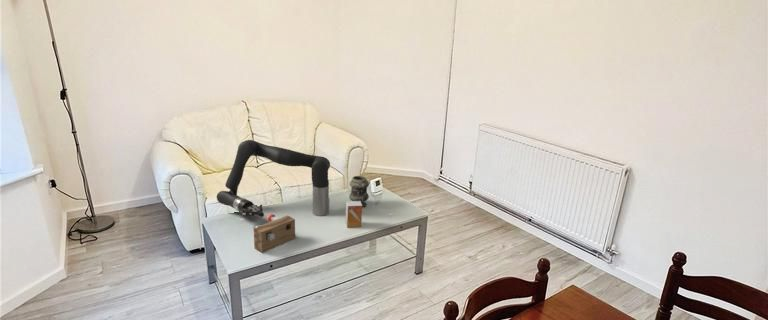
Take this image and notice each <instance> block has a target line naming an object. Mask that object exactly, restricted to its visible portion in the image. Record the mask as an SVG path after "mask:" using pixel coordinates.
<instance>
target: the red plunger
mask: <svg viewBox="0 0 768 320" xmlns="http://www.w3.org/2000/svg"><path fill="white" fill-rule="evenodd" d="M277 219H279V217H277V216H276V215H275V214H273V213H269V214H268V215H267V216H266V221H267V223H269V222H271V221H274V220H277ZM286 227H287V225H286Z"/></svg>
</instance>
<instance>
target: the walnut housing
mask: <svg viewBox="0 0 768 320" xmlns="http://www.w3.org/2000/svg"><path fill="white" fill-rule="evenodd" d="M278 218H279V217H278ZM286 225H287V227H286ZM253 230H254V231H253V244H254V250H256V251H258V252H259V253H261V254H264V253H265V252H269V251H271V250H272V249H275V248H278V247H279V246H282V245H284V244H286V243H289V242H291V241H293V240H296V219H295V218H293V217H291V216H289V215H285V216H282V217H280V218H279V219H277V220H274V221H271V222H267V223H263V224H262V225H260V226H258V227H256V228H253ZM268 232H271V233H273V234H275V239H273V240H271V241H270V240H268V239H267V238H266V233H268Z"/></svg>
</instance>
